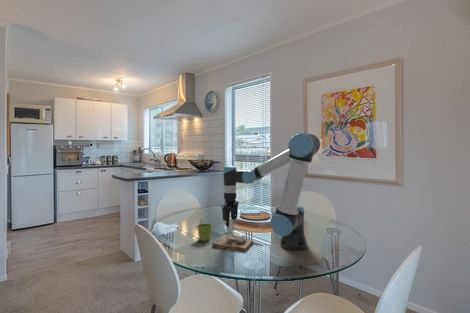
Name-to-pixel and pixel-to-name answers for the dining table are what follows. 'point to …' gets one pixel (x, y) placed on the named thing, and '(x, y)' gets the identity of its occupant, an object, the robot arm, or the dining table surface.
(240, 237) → the peg
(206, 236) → the plant pot
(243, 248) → the board
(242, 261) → the dining table surface
